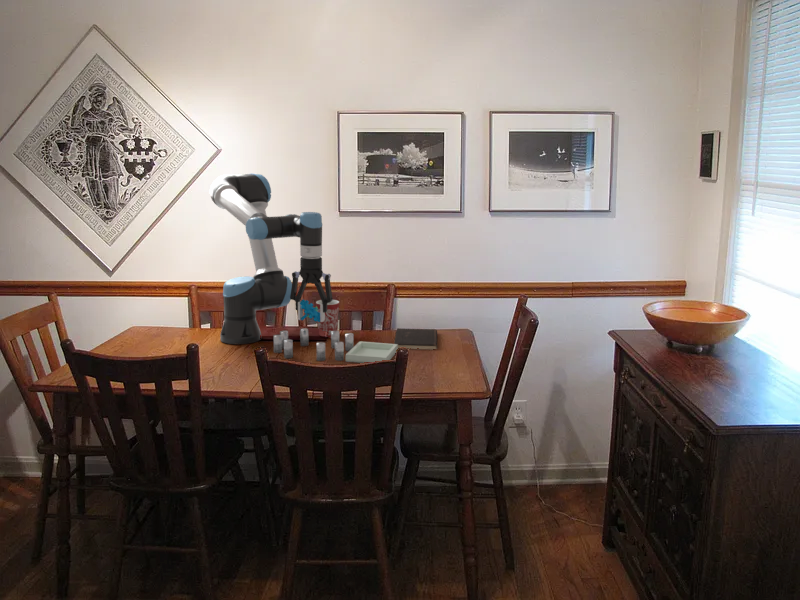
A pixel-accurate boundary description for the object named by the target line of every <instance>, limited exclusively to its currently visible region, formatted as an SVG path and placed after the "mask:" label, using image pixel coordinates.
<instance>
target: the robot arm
mask: <svg viewBox="0 0 800 600" xmlns="http://www.w3.org/2000/svg"><path fill="white" fill-rule="evenodd" d="M209 195H210V198H211V201H212V202H213V203H214V205H216V206H217V207H218V208H220V209H223V210H226V211H227V212H228V213H229V214H230V215H232V216H233V217H234V218H236V219H237V221H239V222H240V223H241V224H242V225H244V227H245V232H246V234H247V237H248V241H249V244H250V249H251V253H252V259H253V263H254V267H255V274H253V276H250V275H249V276H237V277H233V278H230V279H227V280H226V281H225V282H224V284H223V288H222V289H223V290H222V297H223V314H224V315H223V316H224V320H223V324H222V328H221V331H220V334H219V335H220V336H219V337H220V341H221V342H222V343H225V344H227V345H229V344H230V345H248V344H252V343H256V342H258V341H259V342H260V341H261V339H260V335H261V336H262V333H261V329H260V325H259V324H258V321H257V311H260V310H267V309H278V308H281V307H285V306H288V304H290V303H291V300H292V301H294V302H295V311H297V320H298V321H302V320H301V318H302V317H303V316H304V315H303V314H304V311H303V310H304V309H302V308H301V306H302V305H301V304H300V302H301V300H302V297H303V295H304V292H305V290H306V287H307V285H308V284H314V286H315V287H316V290H317V292H318V295H319V298H320V300H322V303H321V304H320V322H323V321H324V320H325V313H326V312H327V303H329V302H331V301H332V300H334V299H333V293H332V285H331V277H332V275H331V274H330V273H325V272H323V258H322V256H323V244H322V243H323V220H322V214H321V213H320V212H315V211H304V212H301V213H300V215H298V214H291V213H290V214H286V215H280V216H279V215H278V216H268V215H267V212H266V211H267V210H266V209H267V207H268V206H269V202H270V200H271V199H272V188H271V185H270V182H269V181H268V179H267V178H266V177H265V176H264V175H263V174H259V173H237V174H236V173H234V174H231V173H230V174H223V175H220V176H218V177H217V178H216V179H215V180H213V182H212V184H211V185H210V189H209ZM280 238H282V239H283V238H299V239H300V240H299V243H300V244H299V246H300V247H299V248H300V249H299V250H300V251H299V253H300V265H299V266H300V267H299V268H300V270H299V271H293V272H292V273H291V277H292V280H291V279H290V277H289V276H286V275H284V271H283V270H282V269H281V268H279V266H278V262H277V256H276V252H275V251H276V250H275V248H274V244H273V243H274V242H273V239H280ZM299 277H300V278H302V280H301V282H300V286H299V289H298V284H299ZM321 279H323V280H324V287H323V285H322V281H321ZM324 288H325V289H324ZM297 290H298V291H297Z"/></svg>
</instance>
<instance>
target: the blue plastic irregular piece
mask: <svg viewBox="0 0 800 600" xmlns="http://www.w3.org/2000/svg"><path fill="white" fill-rule="evenodd" d="M300 301H301V302H300V304H301V305H302V306H301V308H302V309H303V310H304V311H303V313H304V315H303V317H302V318H301V320H300V321H304V320H305V319H306V318H309V319H310V320H313V321H314V322H317V323H318V322H320V313H319V312H317V311H318V307H317V306H315V305H314V303H312V302H310V301H309V300H307V299H304V298H302V299H301V300H300ZM314 306H315V307H314ZM312 318H313V319H312Z"/></svg>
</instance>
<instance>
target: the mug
mask: <svg viewBox="0 0 800 600" xmlns="http://www.w3.org/2000/svg"><path fill="white" fill-rule="evenodd" d="M321 303H322V300H321V299H319V300H317V301H315V305H316V307H318V311H317V312H319V313H320V304H321ZM339 307H340V301H339V300H336V299H333V300H332V301H331V302H329V303H327V312H326V313H325V320H324V321H323V322H318V321H317V327H318V328H317V330H318V329H319V330H322V331H326V332H327V333H328V337H329V338H330V339H331V331H338V325H339V310H340V308H339ZM329 338H328V339H329Z"/></svg>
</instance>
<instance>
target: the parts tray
mask: <svg viewBox="0 0 800 600" xmlns="http://www.w3.org/2000/svg"><path fill="white" fill-rule="evenodd" d="M397 349H398V344H394V343H387V342H384V343H383V342H373V341H362V340H361V341H360V340H359V341H358V342H357V343H356V344H354V345H353V348H352V349H351V350H350V351H347V352H346V354H345V362H346V363H347V362H348V363H349V362H350V363H360V364H365V363H364V362H375V361H382V360H390V361H391V360H392V358H393V357H395V355H396V354H397V352H396V350H397ZM398 350H399V349H398ZM395 353H396V354H395Z"/></svg>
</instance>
